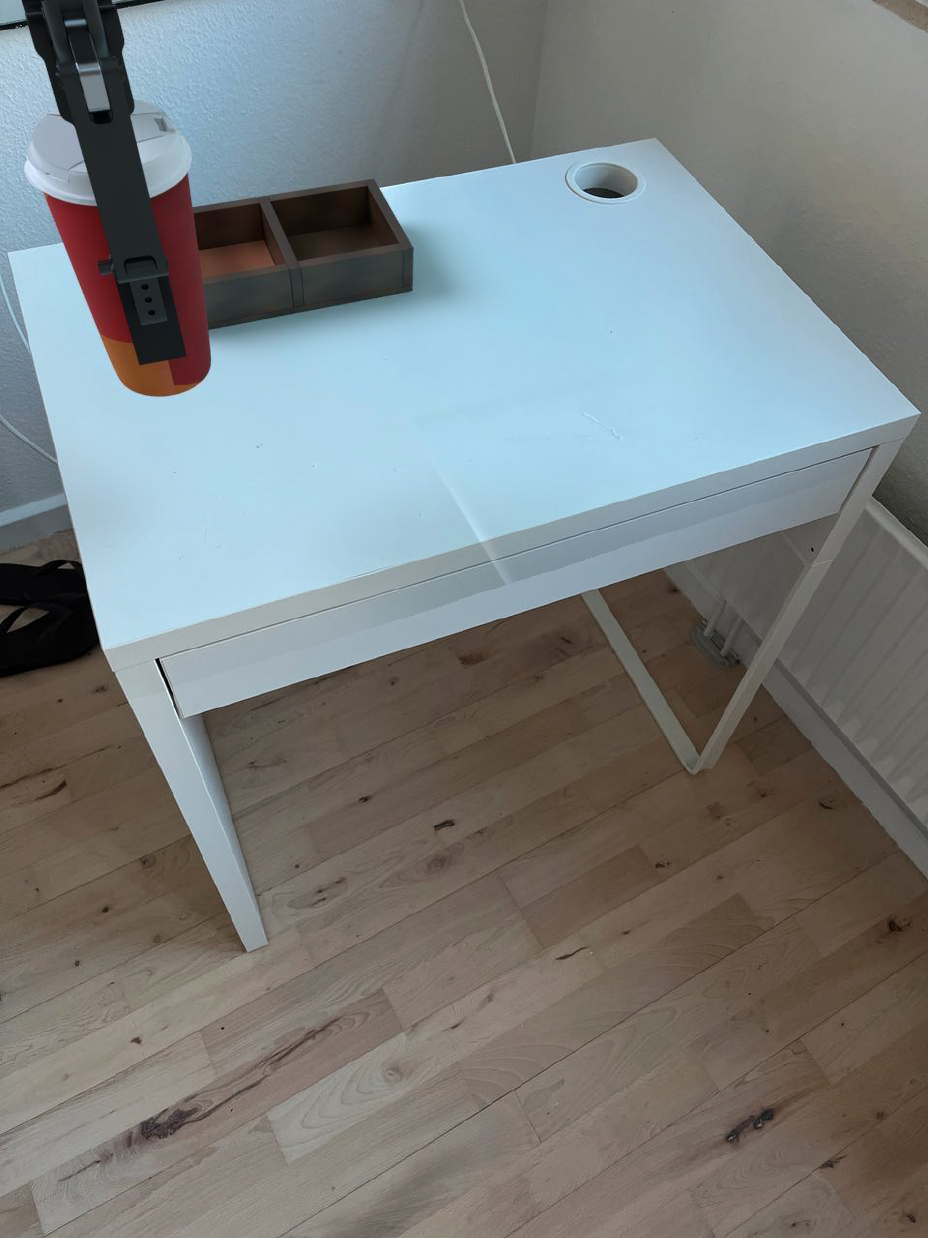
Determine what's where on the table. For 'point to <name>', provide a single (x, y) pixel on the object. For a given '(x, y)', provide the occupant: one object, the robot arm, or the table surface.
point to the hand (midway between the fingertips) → (148, 308)
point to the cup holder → (300, 252)
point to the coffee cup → (81, 230)
